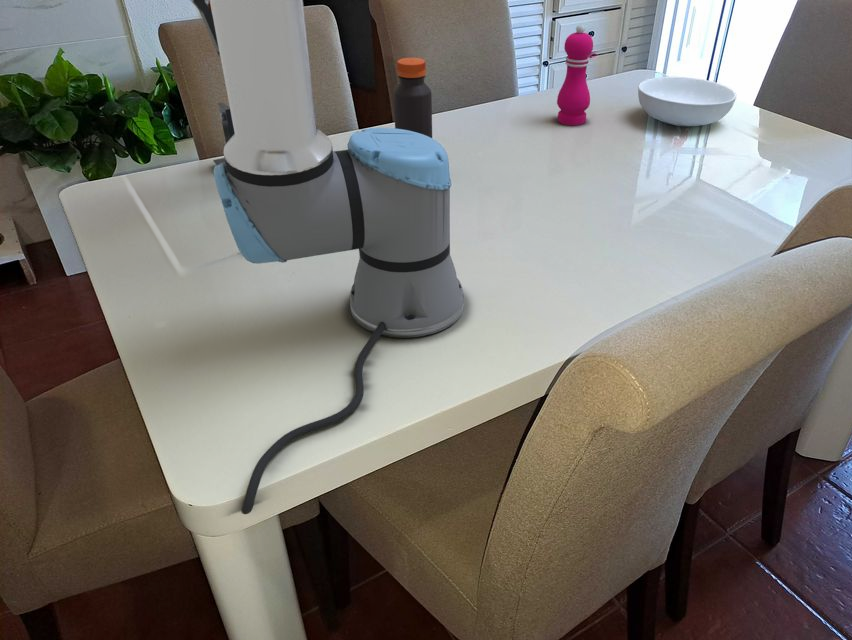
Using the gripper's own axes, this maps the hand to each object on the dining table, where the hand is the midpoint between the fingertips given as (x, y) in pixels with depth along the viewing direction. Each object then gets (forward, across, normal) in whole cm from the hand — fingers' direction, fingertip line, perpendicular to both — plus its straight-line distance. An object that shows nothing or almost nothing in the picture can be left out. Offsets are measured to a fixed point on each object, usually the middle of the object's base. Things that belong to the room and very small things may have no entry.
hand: (252, 102), depth 116 cm
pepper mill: (+16, -71, -2) cm, 73 cm away
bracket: (+16, 0, -10) cm, 19 cm away
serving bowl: (+16, -93, +10) cm, 95 cm away
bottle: (+16, -27, +5) cm, 32 cm away
